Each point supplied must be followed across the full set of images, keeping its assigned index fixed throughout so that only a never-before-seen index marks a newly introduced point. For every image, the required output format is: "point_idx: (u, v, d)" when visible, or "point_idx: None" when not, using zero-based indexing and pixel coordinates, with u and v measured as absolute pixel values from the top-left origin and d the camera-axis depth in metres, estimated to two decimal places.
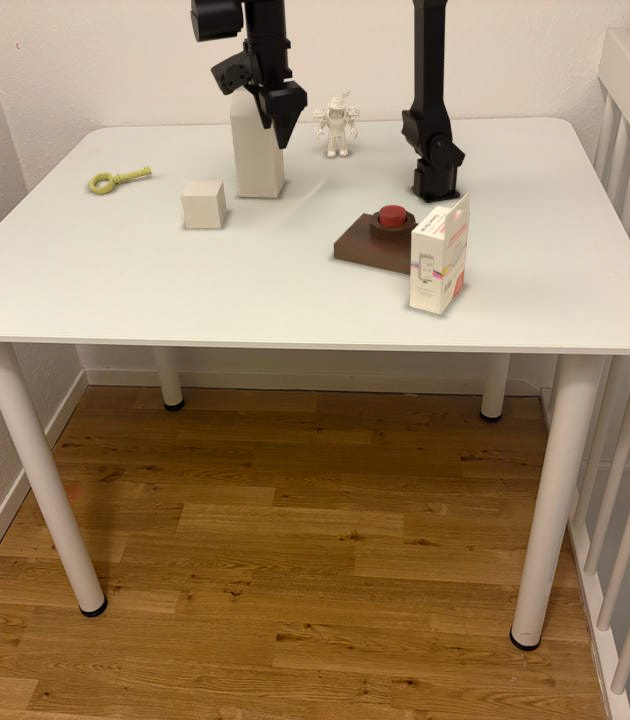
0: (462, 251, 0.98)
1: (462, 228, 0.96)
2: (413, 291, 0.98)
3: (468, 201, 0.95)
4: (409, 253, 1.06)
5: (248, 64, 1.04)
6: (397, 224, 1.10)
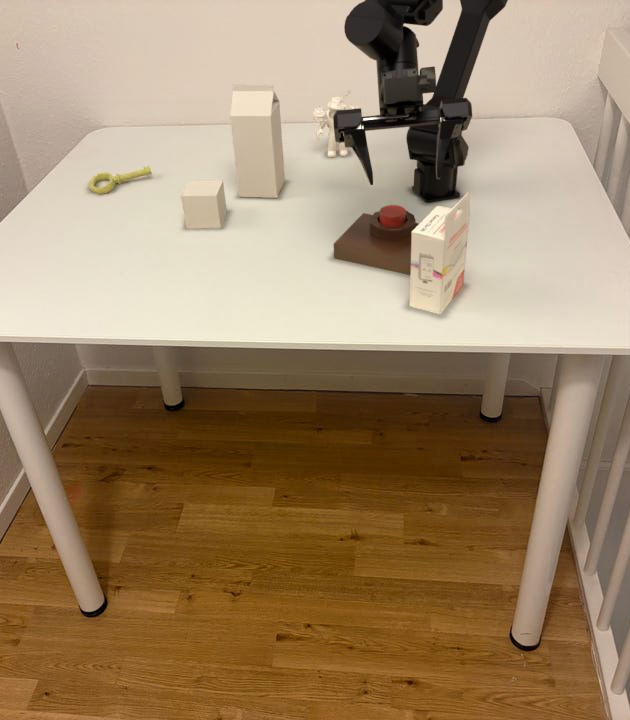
0: (462, 251, 0.98)
1: (462, 228, 0.96)
2: (413, 291, 0.98)
3: (468, 201, 0.95)
4: (409, 253, 1.06)
5: None
6: (397, 224, 1.10)
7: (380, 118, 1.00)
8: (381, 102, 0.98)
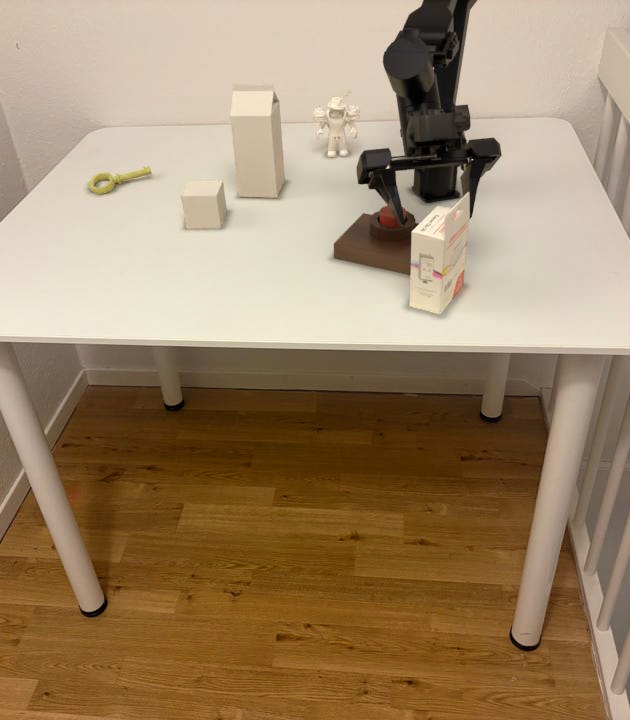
0: (462, 251, 0.98)
1: (462, 228, 0.96)
2: (413, 291, 0.98)
3: (468, 201, 0.95)
4: (409, 253, 1.06)
5: None
6: (397, 224, 1.10)
7: (408, 158, 0.96)
8: (410, 141, 0.95)
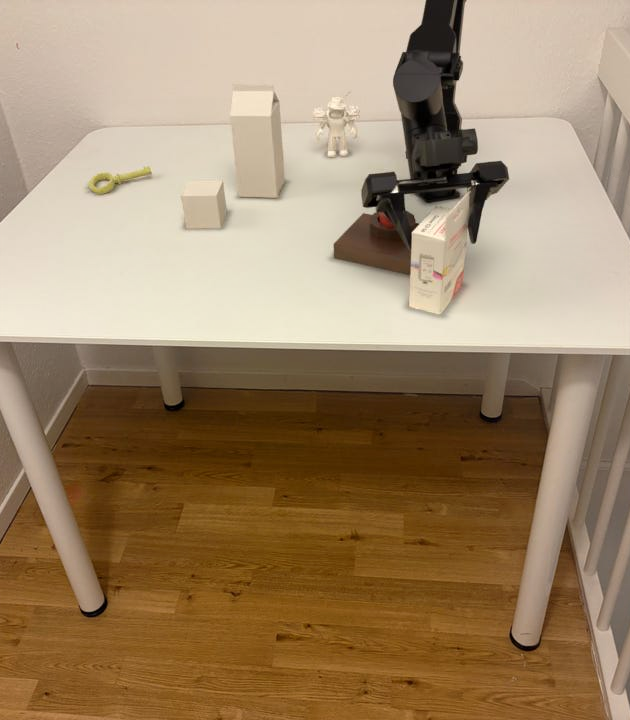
0: (461, 251, 0.98)
1: (462, 229, 0.96)
2: (413, 292, 0.98)
3: (468, 201, 0.95)
4: (409, 253, 1.06)
5: None
6: None
7: (417, 181, 0.95)
8: (416, 165, 0.94)
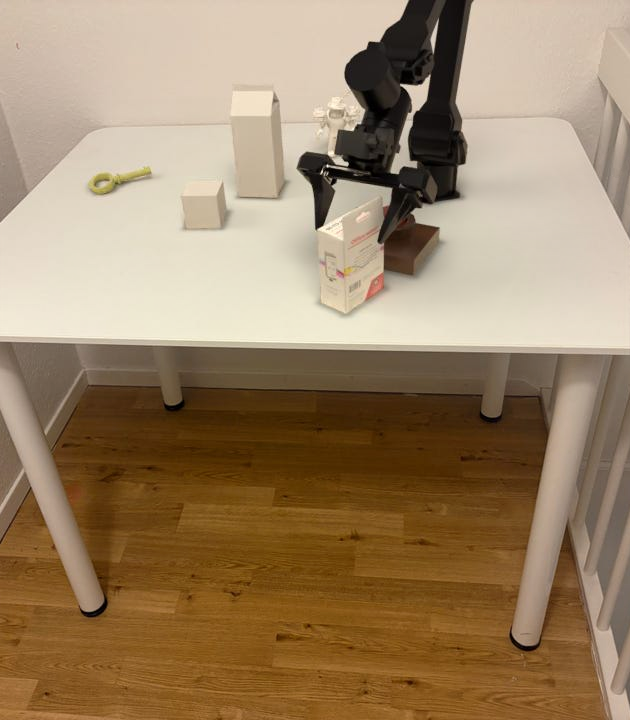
0: (376, 254, 0.99)
1: (373, 231, 0.97)
2: (323, 288, 1.00)
3: (380, 205, 0.96)
4: (409, 253, 1.06)
5: None
6: None
7: (343, 169, 0.98)
8: None
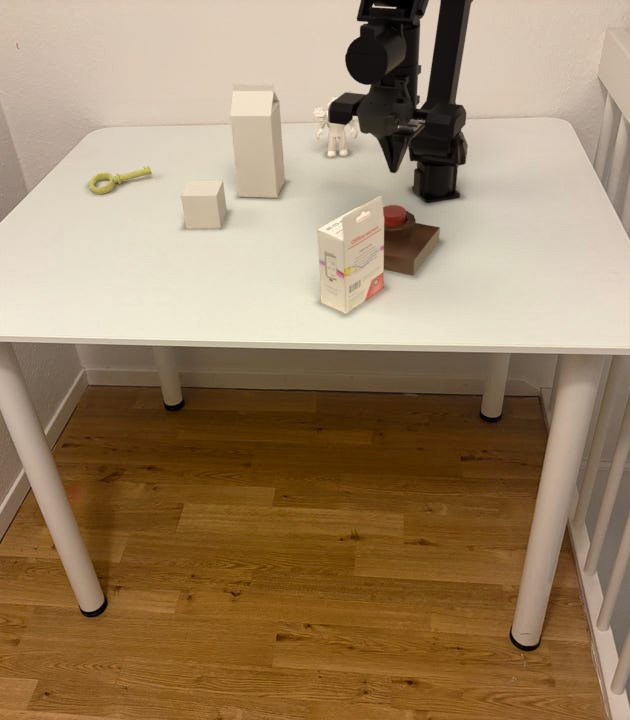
0: (376, 254, 0.99)
1: (373, 231, 0.96)
2: (323, 288, 1.00)
3: (380, 205, 0.96)
4: (409, 253, 1.06)
5: (402, 97, 0.96)
6: (397, 224, 1.10)
7: None
8: None
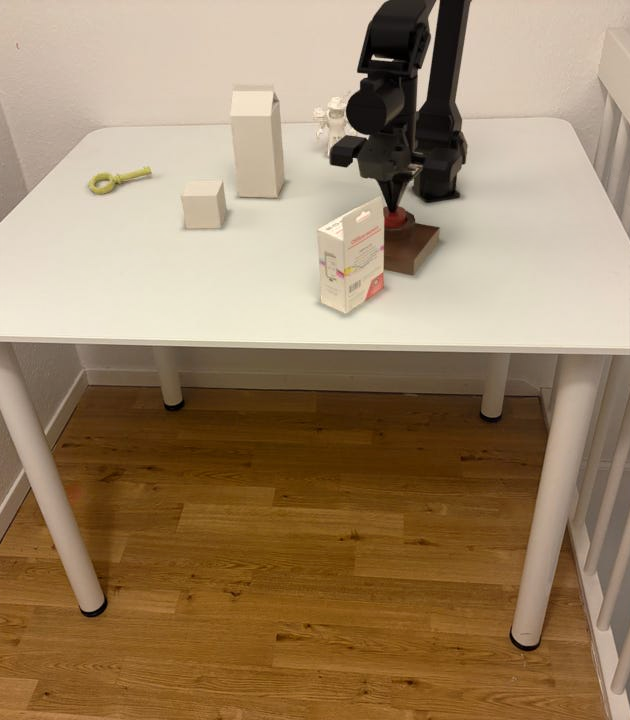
0: (376, 254, 0.99)
1: (373, 231, 0.97)
2: (323, 288, 1.00)
3: (380, 205, 0.96)
4: (409, 253, 1.06)
5: (400, 144, 1.00)
6: (397, 225, 1.10)
7: None
8: None
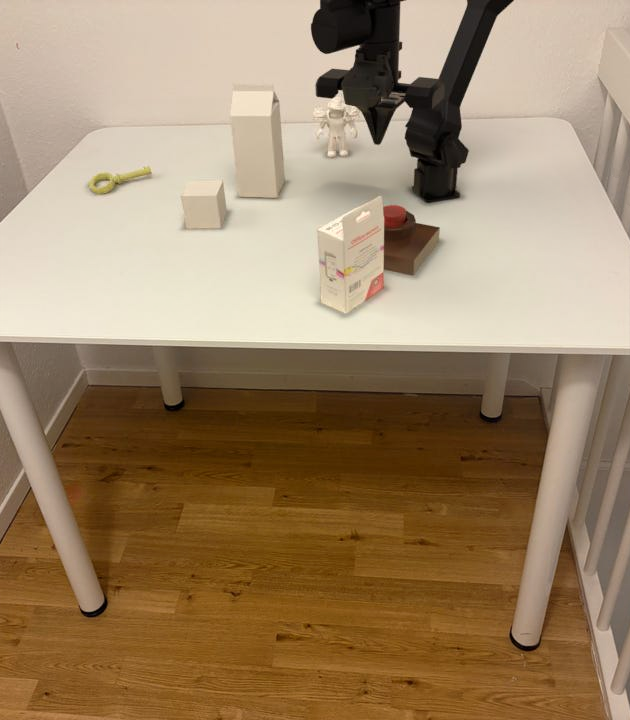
0: (376, 254, 0.99)
1: (373, 231, 0.96)
2: (323, 288, 1.00)
3: (380, 205, 0.96)
4: (409, 253, 1.06)
5: None
6: (397, 224, 1.10)
7: None
8: None
